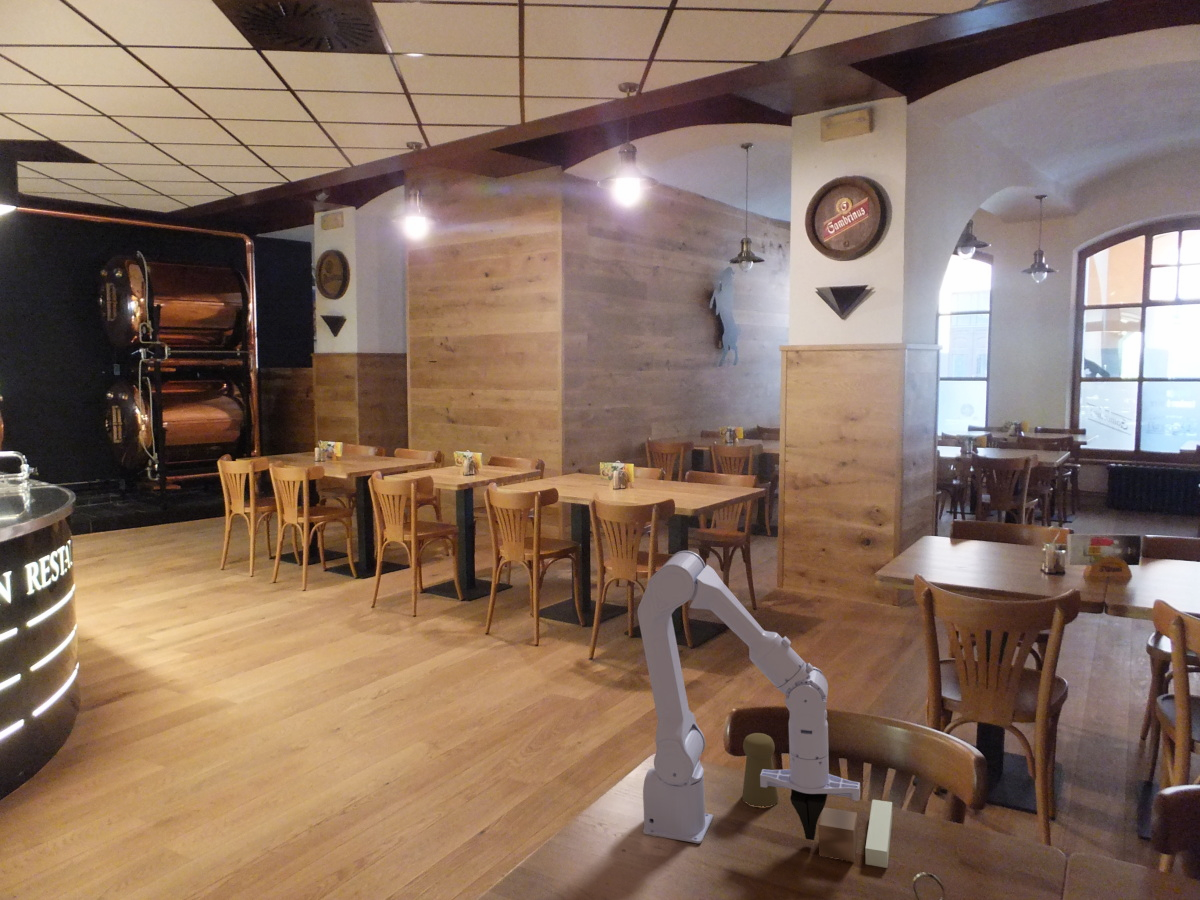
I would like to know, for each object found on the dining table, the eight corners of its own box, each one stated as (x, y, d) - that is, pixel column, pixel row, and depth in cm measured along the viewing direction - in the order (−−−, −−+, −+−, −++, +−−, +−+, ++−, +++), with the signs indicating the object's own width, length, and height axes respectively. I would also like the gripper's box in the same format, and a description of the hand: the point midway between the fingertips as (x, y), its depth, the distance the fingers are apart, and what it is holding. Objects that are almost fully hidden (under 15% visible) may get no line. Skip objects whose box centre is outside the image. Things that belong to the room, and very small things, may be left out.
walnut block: (819, 856, 125) (818, 824, 125) (823, 837, 130) (823, 807, 129) (854, 862, 123) (853, 830, 123) (857, 843, 128) (857, 812, 127)
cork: (778, 809, 138) (777, 745, 137) (741, 807, 140) (739, 744, 138) (778, 790, 144) (777, 729, 143) (742, 788, 146) (740, 727, 144)
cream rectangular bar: (865, 864, 123) (865, 848, 123) (872, 814, 136) (872, 799, 135) (887, 868, 122) (887, 851, 121) (892, 817, 135) (892, 802, 134)
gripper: (861, 745, 127) (862, 829, 129) (765, 733, 133) (767, 814, 134) (857, 767, 121) (858, 855, 123) (756, 753, 126) (758, 839, 128)
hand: (810, 836), depth 128 cm, fingers closed
